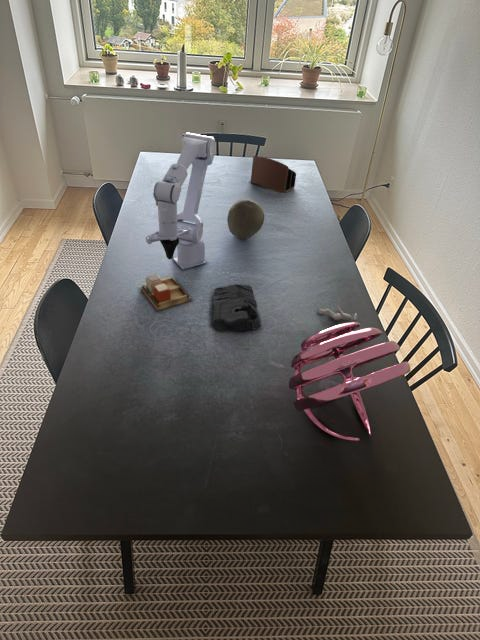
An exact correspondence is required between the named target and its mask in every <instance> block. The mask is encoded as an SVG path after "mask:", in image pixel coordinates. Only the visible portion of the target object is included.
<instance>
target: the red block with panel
mask: <svg viewBox="0 0 480 640" xmlns="http://www.w3.org/2000/svg"><path fill="white" fill-rule="evenodd" d="M153 290H154V297H155V299H156V300H157V301H158V303H160V302H163V301H167V300H170V299H171V298H170V289H169V288H168V286H167V285H166V284H165V283H164V284H160V285H157V286H153Z"/></svg>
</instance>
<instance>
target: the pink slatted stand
mask: <svg viewBox="0 0 480 640" xmlns="http://www.w3.org/2000/svg"><path fill="white" fill-rule="evenodd" d="M360 327H361V323H360V322H358V321H346V322H342V323H338V324H335V325H333V326H330V327H329V326H328V327H327V328H324V329H322V330H319V331H317V332H315V333H313V334H311V335H309V336H308V337H306V338H305V339H303V341H302V342H301V344H300V348H301V349H300V351H299V353H297V354H296V355H294V356H293V357H292V360H291V361H290V367H291V368H294V373H293V376H291V377H289V379H288V388H289V390H294V391H295V393H296V400H293V402H292V403H293V406H294V409H295V410H296V412H303V413H305V414H306V416H307V417H308V419H309V420H310V421H311V422H312V423H313V424H314V425H315V426H316V427H317V428H319V429H320V430H321V431H323V432H324V433H325V434H327V435H329V436H332V437H334V438H336V439H339V440H342V441H347V442H360V441H361V440H360V438H359V437H354V436H353V437H352V436H347V435H343V434H340V433H338V432H336V431H334V430H332V429H330V428H328V427H327V426H326V425H324V423H322V422H321V421H320V420H319V419H318V418H317V417H316V415H315V414H314V412H313V411H312V408H315V407H318V406H322V405H324V404H326V403H330V402H332V401H336V400H338V399H339V400H340V399H341V398H344V397H348V396H349V397H350V399H351V400H352V403H353V405H354V407H355V410H356V412H357V414H358V416H359V419H360V421H361V423H362V425H363V428H364V429H365V431H366V433H367V435H368V436H369V437H372V429H371V424H370V421H369V417H368V414H367V411H366V407H365V404H364V401H363V398H362V396H361V391H364V390H367V389H370V388H372V387H376V386H378V385H381V384H383V383H387V382H389V381H392V380H394V379H397V378H400V377H402V376H404V375H407V374H409V373H410V372H411V366H410V364H409V361H406V360H404V361H402V362H400V363H397V364H394V365H391V366H389V367H385V368H382V369H380V370H377V371H374V372H372V373H369V374H366V375H364V376H361V377H356V376H354V375H353V370H355V369H356V368H359V367H361V366H364V365H367V364H369V363H372V362H374V361H377V360H380V359H382V358H385V357H388V356H390V355H392V354H394V353H397V352H400V350H401V347H400V345H399V344H398V343H397V341H394V340H389V341H385V342H382V343H378V344H375V345H372V346H369V347H366V348H363V349H360V350H356V351H355V352H351V353H349V354H345V352H347V351H348V350H351V349H354V348H356V347H358V346H361V345H363V344H366V343H368V342H371V341H372V340H375V339H377V338H379V337H380V336H382V335H383V331H382V330H381V329H379V328H377V327H374V326H370V327H365V328H361V329H358V328H360ZM331 357H333V358H335V359H332V360H330V361H327V362H324V363H321V364H319V365H316V366H314V367H312V368H309V369H307V370H304V371H302V372H301V369H302V367H303V366H306V365H308V364H312V363H315V362H317V361H321V360H324V359H327V358H331ZM338 375H339V376H341V377H342V382H341V383H340V384H338V385H335V386H332V387H330V388H327V389H324V390H321V391H318V392H316V393H313V394H310V395H305V394H304V392H303V391H304V390H303V387H306V386H307V385H310V384H313V383H316V382H319V381H323V380H325V379H328V378H331V377H333V376H338Z"/></svg>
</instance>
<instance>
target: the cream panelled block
mask: <svg viewBox="0 0 480 640" xmlns="http://www.w3.org/2000/svg"><path fill="white" fill-rule="evenodd" d="M162 279H163V278H161V277H160V275H159V274H158V273H154V274H151V275H147V276H145V284H146V286H147V288H148V290H149V291H150V292H151V293H152V292H154V290H153V286H157V285H160V284H162Z"/></svg>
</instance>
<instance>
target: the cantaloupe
mask: <svg viewBox="0 0 480 640" xmlns="http://www.w3.org/2000/svg"><path fill="white" fill-rule="evenodd" d="M226 220H227V221H226V223H227V227H228V230H229V232H230V234H231V235H233V236H234V237H235V238H237V239H249V238H251V237H253V236H255V235H256V234H257V233H258V232H259V231H260V230H261V229H262V227H263V225H264V222H265V212H264V210H263V208H262V206H261V205H260V204H259V203H258V202H256V201H254V200H252V199H249V198H243V199H239V200H238V201H236V202H234V203H233V205H232V206H231V207H230V208H229V210H228V213H227V218H226Z"/></svg>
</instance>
